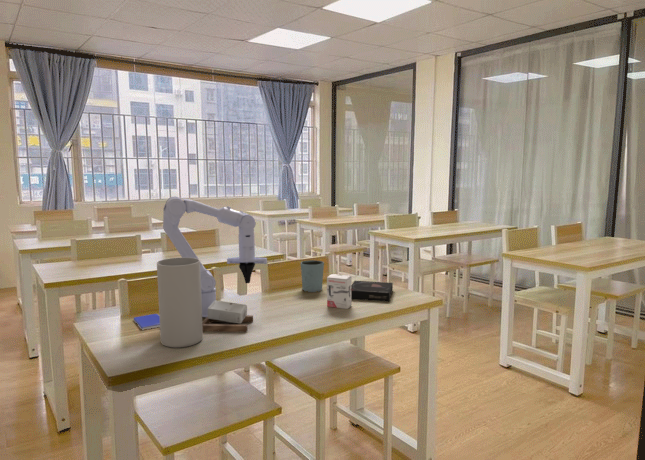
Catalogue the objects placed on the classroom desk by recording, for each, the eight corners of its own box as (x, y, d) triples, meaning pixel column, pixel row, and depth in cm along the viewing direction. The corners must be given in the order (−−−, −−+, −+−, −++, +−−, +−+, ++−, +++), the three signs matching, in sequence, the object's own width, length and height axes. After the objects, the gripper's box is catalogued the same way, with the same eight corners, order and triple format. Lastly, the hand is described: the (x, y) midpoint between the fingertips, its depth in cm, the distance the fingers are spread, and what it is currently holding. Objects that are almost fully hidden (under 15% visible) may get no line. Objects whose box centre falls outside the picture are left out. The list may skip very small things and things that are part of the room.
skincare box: (241, 313, 159) (206, 307, 161) (241, 324, 160) (207, 319, 162) (247, 304, 164) (214, 298, 166) (247, 315, 166) (214, 310, 168)
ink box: (326, 306, 182) (326, 276, 181) (331, 303, 187) (331, 273, 185) (347, 309, 179) (347, 278, 178) (352, 305, 184) (352, 275, 182)
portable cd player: (392, 291, 206) (392, 282, 205) (389, 302, 189) (389, 293, 189) (354, 289, 209) (354, 280, 209) (348, 300, 193) (348, 290, 192)
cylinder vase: (179, 331, 156) (175, 256, 153) (211, 336, 151) (208, 259, 148) (151, 344, 145) (147, 263, 141) (185, 351, 140) (181, 267, 136)
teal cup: (298, 291, 203) (298, 264, 202) (303, 285, 213) (303, 259, 212) (322, 293, 202) (321, 265, 200) (325, 286, 212) (325, 260, 210)
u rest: (200, 331, 156) (199, 325, 156) (209, 320, 167) (209, 314, 167) (246, 332, 156) (246, 326, 155) (253, 320, 166) (253, 315, 166)
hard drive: (167, 322, 162) (157, 313, 172) (141, 327, 157) (133, 317, 167) (167, 327, 162) (157, 317, 172) (142, 331, 157) (133, 321, 168)
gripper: (224, 248, 172) (225, 285, 174) (264, 248, 171) (265, 285, 173) (229, 245, 179) (230, 280, 181) (267, 245, 178) (268, 280, 180)
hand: (247, 282), depth 178 cm, fingers closed
